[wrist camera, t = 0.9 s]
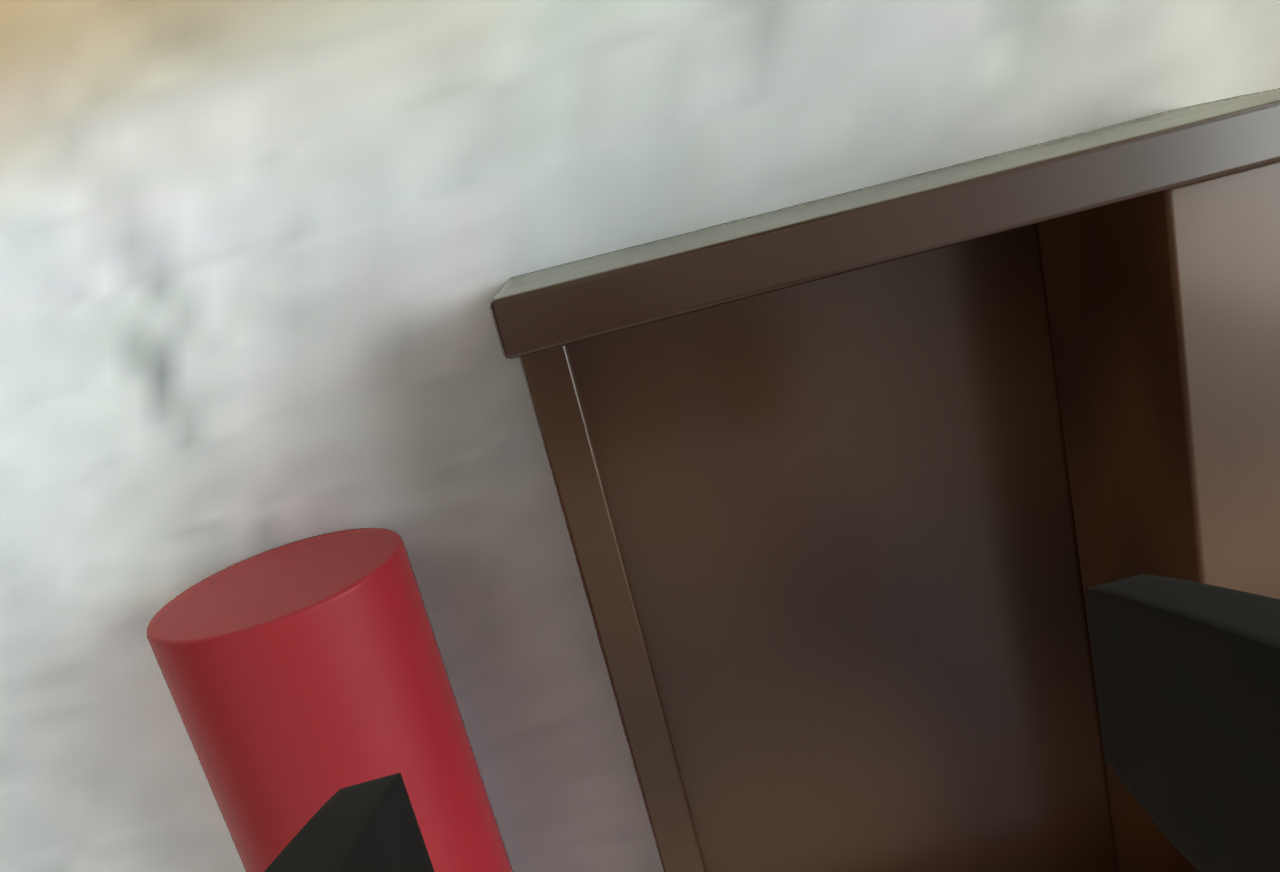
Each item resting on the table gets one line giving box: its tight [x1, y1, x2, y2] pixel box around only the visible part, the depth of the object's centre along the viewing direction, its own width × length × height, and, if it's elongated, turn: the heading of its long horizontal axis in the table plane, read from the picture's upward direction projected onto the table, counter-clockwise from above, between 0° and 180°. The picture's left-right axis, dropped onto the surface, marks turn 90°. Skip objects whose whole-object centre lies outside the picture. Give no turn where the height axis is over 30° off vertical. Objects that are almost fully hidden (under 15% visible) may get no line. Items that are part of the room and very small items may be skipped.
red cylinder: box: [147, 528, 513, 872], centre depth 17 cm, size 12×4×4 cm, turn 14°
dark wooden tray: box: [490, 88, 1280, 872], centre depth 17 cm, size 18×14×6 cm
